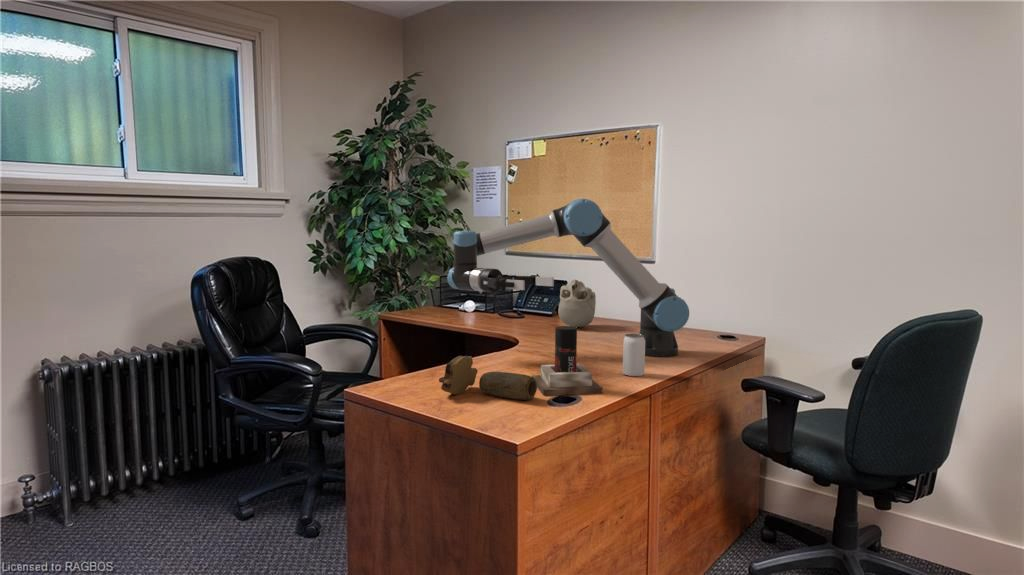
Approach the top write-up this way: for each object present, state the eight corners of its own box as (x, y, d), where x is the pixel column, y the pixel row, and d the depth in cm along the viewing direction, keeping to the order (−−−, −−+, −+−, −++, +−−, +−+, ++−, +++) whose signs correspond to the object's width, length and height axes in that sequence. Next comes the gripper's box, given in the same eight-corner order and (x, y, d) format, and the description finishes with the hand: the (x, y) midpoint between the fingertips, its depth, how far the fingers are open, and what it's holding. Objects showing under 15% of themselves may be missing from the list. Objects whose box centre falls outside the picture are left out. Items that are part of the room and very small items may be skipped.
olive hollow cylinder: (539, 398, 158) (540, 372, 157) (528, 404, 152) (528, 378, 151) (489, 390, 165) (489, 366, 164) (476, 396, 158) (476, 371, 158)
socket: (585, 378, 178) (585, 361, 177) (602, 393, 162) (602, 374, 162) (531, 380, 175) (531, 363, 175) (543, 395, 160) (543, 376, 159)
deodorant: (564, 377, 173) (564, 325, 171) (580, 381, 169) (581, 327, 167) (550, 381, 169) (550, 327, 167) (566, 385, 164) (567, 330, 163)
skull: (565, 324, 280) (566, 276, 278) (598, 326, 274) (599, 277, 272) (553, 330, 262) (553, 279, 259) (587, 332, 256) (588, 280, 254)
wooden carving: (463, 384, 170) (463, 349, 169) (478, 386, 169) (478, 350, 168) (435, 399, 155) (435, 361, 154) (451, 401, 153) (451, 362, 152)
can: (644, 377, 180) (645, 337, 179) (622, 376, 181) (623, 336, 180) (644, 372, 186) (645, 333, 185) (622, 371, 187) (623, 333, 186)
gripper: (513, 288, 203) (564, 292, 189) (458, 295, 185) (510, 300, 171) (512, 266, 202) (564, 268, 188) (458, 270, 184) (510, 273, 170)
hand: (538, 283), depth 179 cm, fingers open, 13 cm apart
